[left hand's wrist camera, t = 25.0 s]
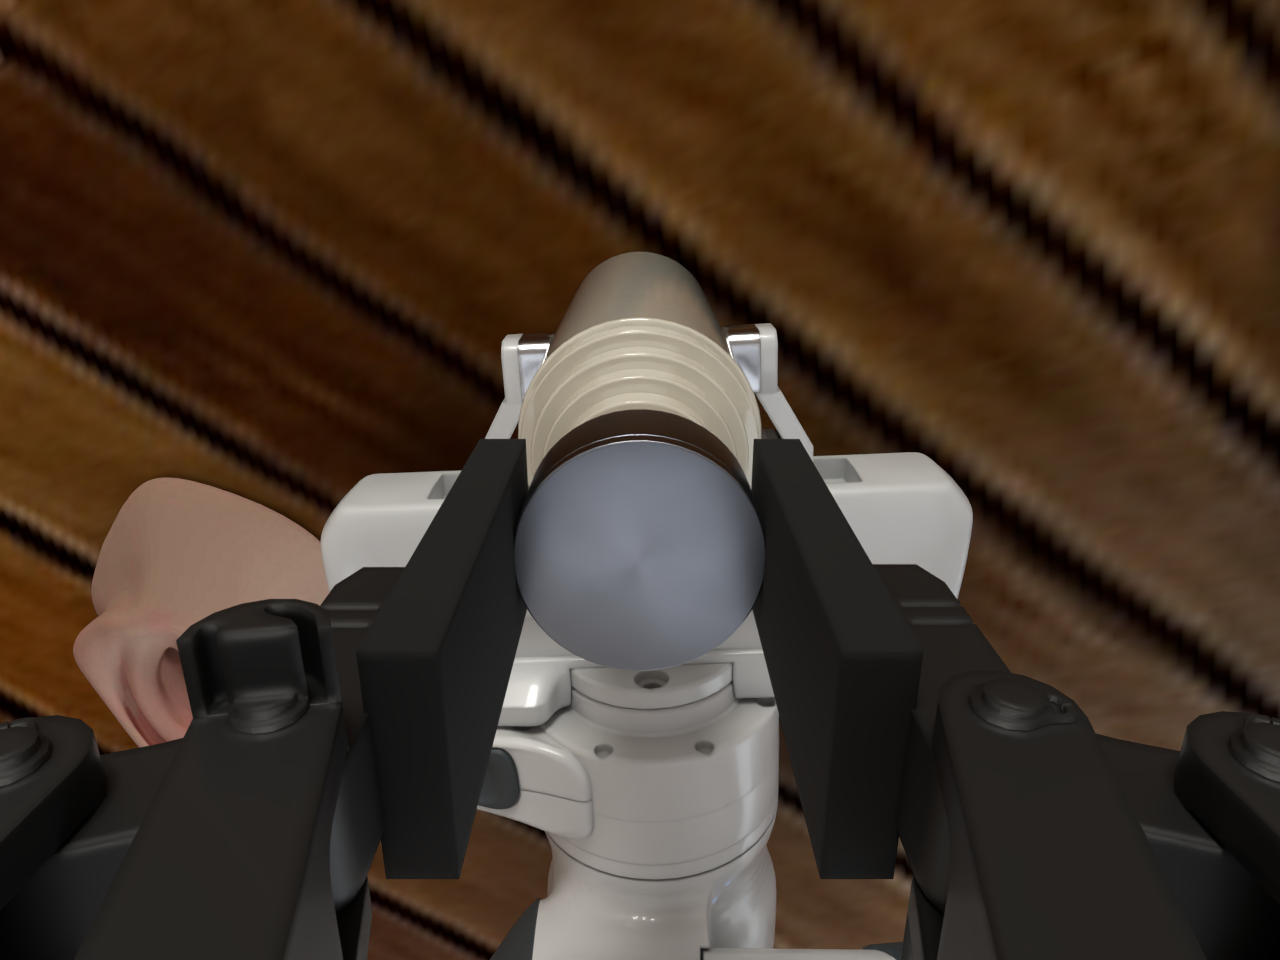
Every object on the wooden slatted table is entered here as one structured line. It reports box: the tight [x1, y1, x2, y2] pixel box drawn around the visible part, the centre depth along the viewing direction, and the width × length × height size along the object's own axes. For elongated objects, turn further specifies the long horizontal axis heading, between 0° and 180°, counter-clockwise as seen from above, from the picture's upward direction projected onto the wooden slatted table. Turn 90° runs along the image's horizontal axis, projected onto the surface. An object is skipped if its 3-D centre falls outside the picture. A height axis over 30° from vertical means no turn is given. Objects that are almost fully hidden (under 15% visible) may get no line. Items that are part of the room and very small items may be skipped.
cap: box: [514, 409, 766, 671], centre depth 13 cm, size 4×4×2 cm
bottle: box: [518, 252, 762, 487], centre depth 23 cm, size 5×5×20 cm
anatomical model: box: [73, 477, 329, 747], centre depth 34 cm, size 13×4×12 cm
